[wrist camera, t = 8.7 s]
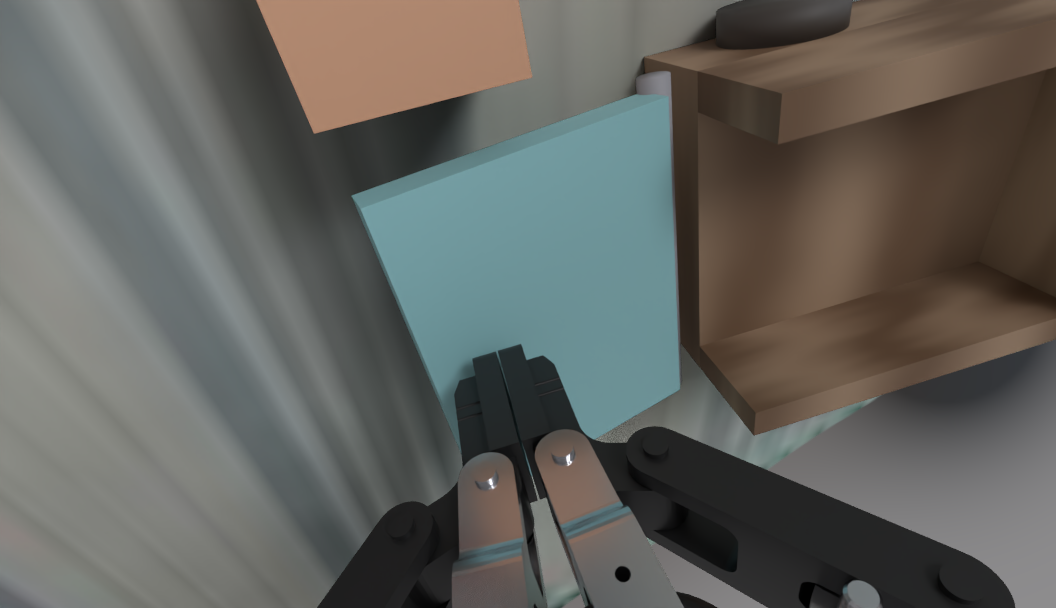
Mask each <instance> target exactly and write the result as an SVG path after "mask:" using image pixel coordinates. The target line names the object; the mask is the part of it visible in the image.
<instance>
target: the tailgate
mask: <svg viewBox="0 0 1056 608" xmlns="http://www.w3.org/2000/svg"><path fill="white" fill-rule="evenodd" d="M636 90H637V94H635V95H632V96H630V97H627V98H624V99H621V100H618V101H616V102H613V103H610V104H607V105H604V106H602V107H599V108H596V109H593V110H590V111H587V112H585V113H582V114H579V115H576V116H573V117H571V118H568V119H565V120H562V121H559V122H557V123H554V124H551V125H548V126H545V127H543V128H540V129H537V130H534V131H531V132H529V133H526V134H523V135H520V136H517V137H514V138H512V139H509V140H506V141H503V142H500V143H498V144H495V145H492V146H489V147H486V148H484V149H481V150H478V151H475V152H472V153H470V154H467V155H464V156H461V157H458V158H456V159H453V160H450V161H447V162H444V163H441V164H439V165H436V166H433V167H430V168H427V169H425V170H422V171H419V172H416V173H413V174H411V175H408V176H405V177H402V178H399V179H397V180H394V181H391V182H388V183H385V184H383V185H380V186H377V187H374V188H371V189H368V190H366V191H363V192H360V193H357V194H354V195H352V198H353V201H354V203H355V206H356V208H357V210H358V213H359V215H360V217H361V220H362V222H363V224H364V227H365V229H366V231H367V234H368V236H369V238H370V241H371V243H372V245H373V248H374V250H375V252H376V255H377V257H378V260H379V262H380V264H381V267H382V269H383V271H384V274H385V276H386V278H387V281H388V283H389V285H390V288H391V290H392V292H393V295H394V297H395V299H396V302H397V304H398V306H399V309H400V311H401V314H402V316H403V318H404V321H405V323H406V325H407V328H408V330H409V332H410V335H411V337H412V339H413V342H414V344H415V346H416V349H417V351H418V353H419V356H420V358H421V360H422V363H423V365H424V368H425V370H426V372H427V375H428V377H429V379H430V382H431V384H432V386H433V389H434V391H435V393H436V396H437V398H438V400H439V403H440V405H441V407H442V410H443V412H444V414H445V417H446V419H447V422H448V424H449V426H450V429H451V431H452V433H453V436H454V438H455V440H456V443H457V445H458V447H459V450H460V452H461V446H460V438H459V430H458V420H457V414H456V406H455V398H454V393H455V391H456V388H457V386H458V383H459V380H463V379H466V378H469V377H473V376H475V372H474V366H473V361H472V358H475V357H479V356H482V355H485V354H489V353H492V352H495V351H496V353H497V357H498V360H499V363H500V366H501V369H502V365H501V361H500V357H499V354H498V350H502V349H505V348H508V347H512V346H515V345H518V344H521V345H522V348H523V351H524V354H525V357H526V360H529V359H532V358H535V357H539V356H542V355H543V356H545V357H546V358H547V359H549V360H550V361H551V362H552V363H554V364H555V367H556V369H557V372H558V374H559V377H560V379H561V382H562V384H563V386H564V389H565V391H566V394H567V396H568V399H569V401H570V404H571V406H572V408H573V411H574V413H575V416H576V418H577V421H578V423H579V426H580V427H581V429H582V431H583V432H584V433H585V434H586V435H587V436H589V437H590V438H592V439H596V438H598V437H600V436H601V435H603V434H605V433H606V432H608V431H610V430H612V429H613V428H615V427H617V426H618V425H620V424H622V423H624V422H625V421H627V420H629V419H630V418H632V417H634V416H636V415H637V414H639V413H641V412H642V411H644V410H646V409H648V408H649V407H651V406H653V405H654V404H656V403H658V402H660V401H661V400H663V399H665V398H666V397H668V396H670V395H672V394H673V393H675V392H677V391H678V390H680V384H681V382H682V374H681V346H680V318H679V291H678V263H677V235H676V208H675V180H674V153H673V125H672V97H671V73H670V72H669V71H657V72H651V73H646V74H643V75H640V76H638V77H637V78H636ZM502 373H503V369H502ZM503 376H504V373H503ZM504 379H505V376H504ZM505 382H506V380H505ZM506 385H507V384H506ZM507 389H508V388H507ZM508 392H509V391H508ZM524 451H525V450H524ZM525 455H526V453H525ZM526 458H527V456H526ZM527 462H528V460H527ZM528 466H529V463H528ZM529 470H530V474H531V476H533V475H532V472H531V469H530V466H529Z"/></svg>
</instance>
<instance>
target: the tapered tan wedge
mask: <svg viewBox="0 0 1056 608" xmlns="http://www.w3.org/2000/svg"><path fill="white" fill-rule="evenodd" d="M256 1H257V3H258V6H259V8H260V10H261V13H262V15H263V17H264V20H265V22H266V24H267V26H268V29H269V31H270V33H271V36H272V38H273V40H274V43H275V45H276V47H277V49H278V52H279V54H280V56H281V59H282V61H283V63H284V66H285V68H286V70H287V72H288V75H289V77H290V79H291V82H292V84H293V86H294V89H295V91H296V93H297V95H298V98H299V100H300V102H301V105H302V107H303V109H304V112H305V114H306V116H307V118H308V121H309V123H310V125H311V128H312V130H313V132H314V134H315V133H319V132H323V131H327V130H331V129H334V128H338V127H342V126H346V125H350V124H354V123H358V122H362V121H365V120H369V119H373V118H377V117H381V116H385V115H389V114H393V113H397V112H400V111H404V110H408V109H412V108H416V107H420V106H424V105H428V104H431V103H435V102H439V101H443V100H447V99H451V98H455V97H459V96H462V95H466V94H470V93H474V92H478V91H482V90H486V89H490V88H493V87H497V86H501V85H505V84H509V83H513V82H517V81H521V80H525V79H528V78H532V73H531V68H530V62H529V57H528V51H527V45H526V40H525V34H524V29H523V23H522V18H521V12H520V6H519V1H518V0H256Z"/></svg>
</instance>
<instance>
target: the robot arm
mask: <svg viewBox="0 0 1056 608" xmlns="http://www.w3.org/2000/svg"><path fill="white" fill-rule="evenodd" d="M498 354H499V357H500V361H501V365H502V369H503V373H504V376H505V379H504V376H503V373H502V369H501V366H500V363H499V360H498V357H497V353H496V351H495V352H492V353H489V354H485V355H482V356H479V357H475V358H472V361H473V366H474V372H475V376H473V377H469V378H466V379H463V380H459V383H458V386H457V388H456V391H455V393H454V398H455V406H456V414H457V420H458V430H459V438H460V446H461V454H462V462H463V468H462V470H461V472H460V474H459V477H458V482H457V483H456V485H455V486H454V487H453V488H452V489H451V490H450V491H449V492H448V493H447V494H446V495H444V496H443V497H441V498H440V499H438V500H437V501H435V502H434V503H432V504H431V505H429V506H428V507H427V506H425V505H424V504H422V503H419V502H405V503H402V504H399V505H397V506H395V507H394V508H392V509H391V510H389V511H388V512H387V513H386V514H385V515H384V516H383V517H382V518H381V520H380V521H379V522H378V524H377V525H376V526H375V528H374V529H373V531H372V532H371V533H370V535H369V536H368V538H367V539H366V540H365V542H364V543H363V545H362V546H361V547H360V549H359V550H358V552H357V553H356V554H355V556H354V557H353V559H352V560H351V561H350V563H349V564H348V565H347V567H346V568H345V570H344V571H343V572H342V574H341V575H340V577H339V578H338V579H337V581H336V582H335V584H334V585H333V586H332V588H331V589H330V591H329V592H328V593H327V595H326V596H325V598H324V599H323V600H322V602H321V603H320V605H319V606H318V607H317V608H548V605H547V599H546V593H545V587H544V581H543V575H542V569H541V563H540V556H539V550H538V544H537V538H536V532H535V528H534V517H533V513H532V509H531V505H530V503H531V502H534V501H537V496H536V492H535V489H534V485H533V481H532V477H531V474H530V470H529V466H530V469H531V472H532V475H533V479H534V482H535V485H536V488H537V491H538V495H539V498H540V499H543V498H546V497H547V500H548V503H549V507H550V510H551V513H552V517H553V520H554V523H555V526H556V529H557V532H558V534H559V537H560V540H561V542H562V545H563V548H564V550H565V553H566V556H567V558H568V561H569V564H570V566H571V569H572V572H573V574H574V577H575V580H576V582H577V585H578V588H579V590H580V593H581V596H582V598H583V601H584V604H585V608H717V607H715V606H714V605H712V604H710V603H708V602H706V601H704V600H702V599H699V598H697V597H694V596H691V595H689V594H684V593H680V592H675V590H674V588H673V586H672V585H671V583H670V581H669V579H668V577H667V575H666V573H665V572H664V570H663V568H662V566H661V564H660V562H659V560H658V559H657V557H656V555H655V553H654V551H653V549H652V547H651V545H650V544H649V542H648V540H647V538H649V539H651V540H652V541H654V542H656V543H657V544H659V545H661V546H663V547H664V548H666V549H668V550H670V551H671V552H673V553H675V554H676V555H678V556H680V557H682V558H683V559H685V560H687V561H688V562H690V563H692V564H694V565H695V566H697V567H699V568H701V569H702V570H704V571H706V572H707V573H709V574H711V575H713V576H714V577H716V578H718V579H719V580H722V581H723V582H725V583H726V584H728V585H730V586H732V587H733V588H735V589H737V590H738V591H740V592H742V593H744V594H745V595H747V596H749V597H750V598H752V599H754V600H756V601H757V602H759V603H761V604H763V605H764V606H766V607H768V608H1015V603H1014V600H1013V598H1012V595H1011V593H1010V591H1009V589H1008V588H1007V586H1006V585H1005V584H1004V582H1003V581H1002V580H1001V579H1000V578H999V577H998V576H997V574H995V573H994V572H993V571H992V570H991V569H990V568H989V567H987V566H986V565H984V564H983V563H982V562H980V561H979V560H977V559H975V558H973V557H972V556H970V555H967V554H965V553H963V552H961V551H959V550H956V549H953V548H951V547H949V546H947V545H944V544H942V543H939V542H937V541H935V540H932V539H930V538H927V537H925V536H923V535H920V534H918V533H916V532H913V531H911V530H908V529H906V528H904V527H901V526H899V525H896V524H894V523H892V522H889V521H887V520H885V519H882V518H880V517H877V516H875V515H872V514H870V513H868V512H865V511H863V510H861V509H858V508H856V507H854V506H851V505H849V504H846V503H844V502H841V501H839V500H837V499H834V498H832V497H830V496H827V495H825V494H822V493H820V492H818V491H815V490H813V489H811V488H808V487H806V486H803V485H801V484H798V483H796V482H794V481H791V480H789V479H787V478H784V477H782V476H780V475H777V474H775V473H772V472H770V471H768V470H765V469H763V468H760V467H758V466H756V465H753V464H751V463H749V462H746V461H744V460H741V459H739V458H737V457H734V456H732V455H729V454H727V453H725V452H722V451H720V450H718V449H715V448H713V447H710V446H708V445H706V444H703V443H701V442H698V441H696V440H694V439H691V438H689V437H687V436H684V435H682V434H679V433H677V432H675V431H672V430H670V429H667V428H663V427H647V428H643V429H640V430H638V431H637V432H635V433H634V434H633V435H632V436H631V437H630V438H629V440H628V441H627V443H605V442H600V441H596V440H594V439H592V438H590V437H589V436H587V435H586V434H585V433H584V432H583V431H582V429H581V427H580V426H579V423H578V421H577V418H576V416H575V413H574V411H573V408H572V406H571V404H570V401H569V399H568V396H567V394H566V391H565V389H564V386H563V384H562V382H561V379H560V377H559V374H558V372H557V369H556V367H555V364H554V363H552V362H551V361H550V360H549V359H547V358H546V357H545V356H543V355H542V356H539V357H535V358H532V359H529V360H526V357H525V354H524V351H523V348H522V345H521V344H518V345H515V346H512V347H508V348H505V349H502V350H498ZM505 380H506V382H505ZM506 384H507V385H506ZM507 388H508V389H507ZM508 391H509V392H508ZM524 450H525V451H524ZM525 453H526V455H525ZM526 456H527V458H526ZM527 460H528V462H527ZM528 463H529V466H528ZM646 537H647V538H646Z"/></svg>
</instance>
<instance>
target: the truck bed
mask: <svg viewBox="0 0 1056 608" xmlns="http://www.w3.org/2000/svg"><path fill="white" fill-rule="evenodd" d="M644 67H645V74H646V73H651V72H657V71H669V72H670V73H671V97H672V125H673V153H674V180H675V208H676V235H677V263H678V291H679V318H680V343H681V344H682V345H683V347H684V348H685V349H686V350H687V352H688V353H689V354H690V356H691V357H692V358H693V359H694V361H695V362H696V363H697V364H698V366H699V367H700V368H701V369H702V371H703V372H704V373H705V374H706V376H707V377H708V378H709V379H710V381H711V382H712V383H713V385H714V386H715V387H716V388H717V390H718V391H719V392H720V393H721V395H722V396H723V397H724V398H725V400H726V401H727V402H728V403H729V405H730V406H731V407H732V409H733V410H734V411H735V412H736V414H737V415H738V416H739V417H740V419H741V420H742V421H743V422H744V424H745V425H746V426H747V427H748V429H749V430H750V431H751V433H752V434H753V435H757V434H761V433H764V432H767V431H770V430H773V429H776V428H779V427H782V426H786V425H789V424H792V423H795V422H798V421H801V420H804V419H808V418H811V417H814V416H817V415H820V414H823V413H826V412H829V411H833V410H836V409H839V408H842V407H845V406H848V405H851V404H855V403H858V402H861V401H864V400H867V399H870V398H873V397H876V396H880V395H883V394H886V393H889V392H892V391H895V390H898V389H902V388H905V387H908V386H911V385H914V384H917V383H920V382H923V381H927V380H930V379H933V378H936V377H939V376H942V375H945V374H949V373H952V372H955V371H958V370H961V369H964V368H967V367H970V366H974V365H977V364H979V363H983V362H986V361H989V360H992V359H995V358H999V357H1002V356H1005V355H1008V354H1011V353H1014V352H1017V351H1021V350H1024V349H1027V348H1030V347H1033V346H1036V345H1039V344H1043V343H1046V342H1049V341H1052V340H1055V339H1056V0H860V1H856V2H853V0H743V1H739V2H736V3H733V4H730V5H727V6H724V7H722V8H720V9H719V10H717V12H716V38H715V39H711V40H707V41H703V42H700V43H696V44H692V45H688V46H684V47H681V48H677V49H673V50H669V51H665V52H661V53H658V54H654V55H650V56H646V57H644Z"/></svg>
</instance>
